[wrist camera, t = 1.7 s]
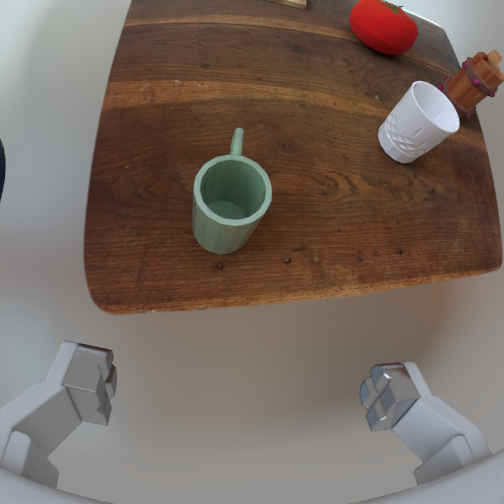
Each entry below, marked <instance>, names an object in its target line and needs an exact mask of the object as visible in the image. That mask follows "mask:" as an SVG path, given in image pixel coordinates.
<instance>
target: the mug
mask: <svg viewBox="0 0 504 504" xmlns="http://www.w3.org/2000/svg"><path fill="white" fill-rule="evenodd" d="M501 58H502V57H501V56H500V55H499V53H497V52H496V50H493V51H491V52H490V53H489V54H488V55H487V54H485V53H483V52H478V53H477V54H476V55H475V56H474V57H473V58H470V57H468V58H467V60H466V61H465V62H463V63H462V68H461V69H460V70H459V72H458V73H457V74H456V75H455V76H454V77H453V78H452V79H450V78H449V77H446V78H445V81H444V82H443V83H442V84H439V85H438V89H439V90H440V91H441V92H442V93H443V94H444V95H445V96H446V97H447V98H448V99H449V101H450V102H451V103H452V105H453V106H454V108H455V110H456V112H457V114H458V117H459V118H461V117H464V118H467V119H469V118H470V117H471V114H472V113H473V112H474V110H475V109H476V105H477V104H478V103H479V102H480V101H482V100H483V99H484V98H485V97H487V96H490V97H494V96H495V92H496V91H497V89H498V86H499V85H500V84H501V83H502V82H503V81H504V75H503V73H502V72H500V68H499V66H498V65H497V64H498V63H499V62H500V60H501Z"/></svg>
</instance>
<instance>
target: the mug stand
mask: <svg viewBox="0 0 504 504" xmlns="http://www.w3.org/2000/svg"><path fill="white" fill-rule="evenodd" d="M266 1H271V2H276V3H280V4H284V5H289V6H293V7H297V8H301V9H304V10H305V8H306V6H307V4H306V0H266Z"/></svg>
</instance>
